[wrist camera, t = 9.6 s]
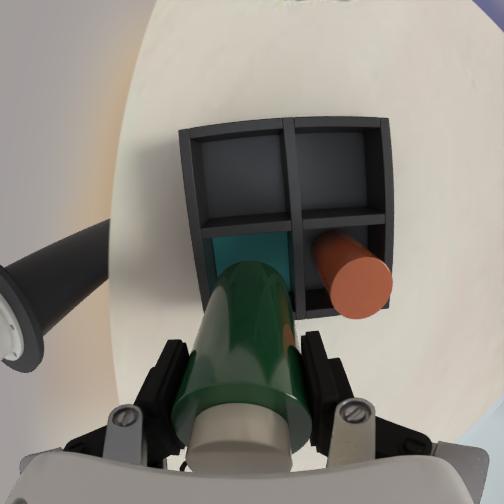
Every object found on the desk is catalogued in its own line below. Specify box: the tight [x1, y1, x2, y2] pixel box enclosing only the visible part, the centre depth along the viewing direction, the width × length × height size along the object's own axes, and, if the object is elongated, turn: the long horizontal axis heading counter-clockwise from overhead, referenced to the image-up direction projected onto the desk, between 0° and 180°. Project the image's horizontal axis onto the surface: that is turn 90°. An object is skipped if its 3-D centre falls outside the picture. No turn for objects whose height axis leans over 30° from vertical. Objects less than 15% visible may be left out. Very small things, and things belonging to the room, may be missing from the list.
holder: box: [178, 116, 394, 320], centre depth 23 cm, size 15×15×5 cm
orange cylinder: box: [310, 229, 393, 319], centre depth 21 cm, size 4×4×8 cm
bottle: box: [170, 260, 313, 474], centre depth 13 cm, size 5×5×12 cm
